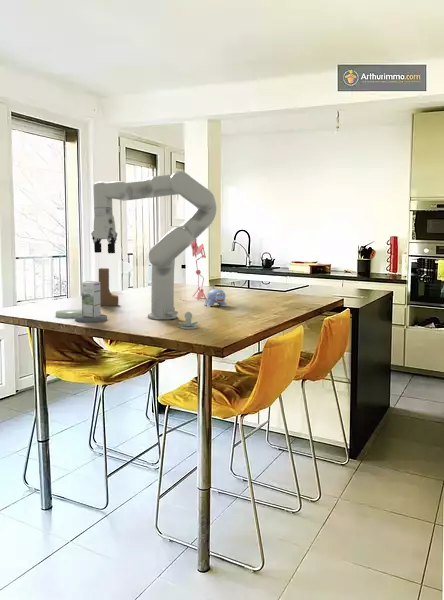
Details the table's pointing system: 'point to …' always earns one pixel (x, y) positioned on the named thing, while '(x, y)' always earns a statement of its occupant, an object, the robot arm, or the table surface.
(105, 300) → the wooden block
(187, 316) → the pacifier
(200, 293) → the pink articulated figure
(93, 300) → the syrup box
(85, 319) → the disc
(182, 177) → the robot arm
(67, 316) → the disc
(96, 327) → the table surface
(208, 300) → the hippopotamus toy
